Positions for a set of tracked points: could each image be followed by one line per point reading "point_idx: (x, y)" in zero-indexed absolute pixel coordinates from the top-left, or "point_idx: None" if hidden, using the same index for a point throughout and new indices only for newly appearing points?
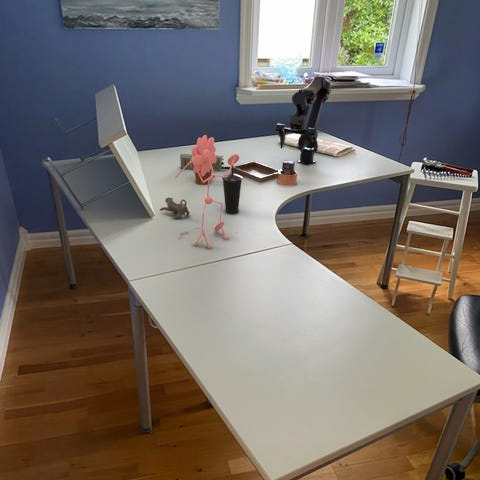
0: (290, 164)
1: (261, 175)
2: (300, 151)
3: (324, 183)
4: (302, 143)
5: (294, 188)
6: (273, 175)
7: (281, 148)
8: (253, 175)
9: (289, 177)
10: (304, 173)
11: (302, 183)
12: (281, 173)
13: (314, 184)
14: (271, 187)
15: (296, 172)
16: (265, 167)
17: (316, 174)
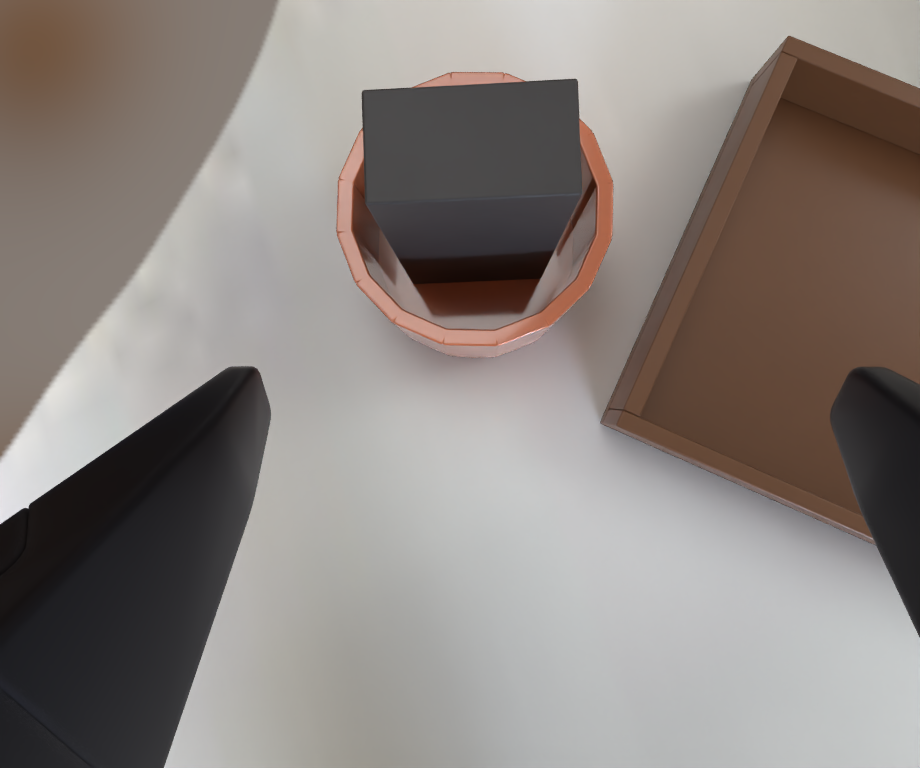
0: (414, 96)
1: (848, 323)
2: (267, 399)
3: (84, 454)
4: (130, 495)
5: (344, 136)
6: (682, 266)
7: (838, 394)
8: (914, 86)
9: None
10: (397, 688)
11: (312, 333)
12: (580, 262)
13: (178, 367)
14: (589, 40)
15: (356, 258)
16: None
17: (253, 720)
